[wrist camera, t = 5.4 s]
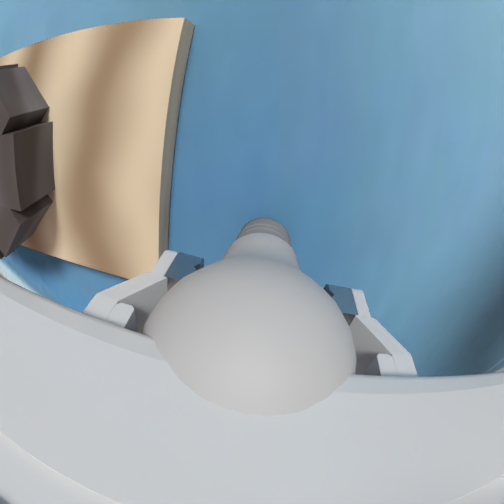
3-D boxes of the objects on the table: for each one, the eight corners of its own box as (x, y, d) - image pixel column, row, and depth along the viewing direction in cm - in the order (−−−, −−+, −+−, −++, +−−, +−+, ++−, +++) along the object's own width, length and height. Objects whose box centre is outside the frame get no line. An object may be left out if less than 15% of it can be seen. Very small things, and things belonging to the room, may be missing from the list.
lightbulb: (267, 298, 16) (246, 488, 7) (184, 234, 15) (81, 424, 5) (348, 233, 14) (411, 453, 4) (260, 149, 12) (181, 362, 3)
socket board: (194, 25, 9) (155, -3, 5) (167, 271, 17) (139, 323, 13) (-22, 72, 9) (-62, 83, 5) (-13, 220, 16) (-44, 245, 12)
